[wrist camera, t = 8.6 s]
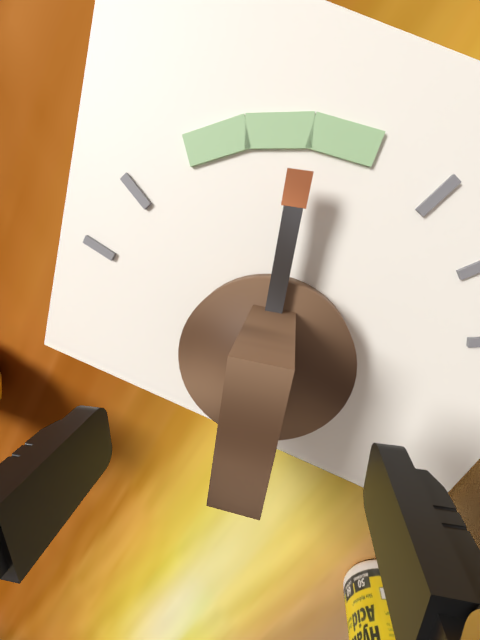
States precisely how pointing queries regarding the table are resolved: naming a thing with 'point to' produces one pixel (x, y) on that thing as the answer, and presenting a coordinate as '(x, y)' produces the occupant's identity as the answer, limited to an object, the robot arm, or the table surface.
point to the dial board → (281, 206)
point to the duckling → (0, 387)
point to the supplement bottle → (366, 603)
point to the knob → (265, 364)
